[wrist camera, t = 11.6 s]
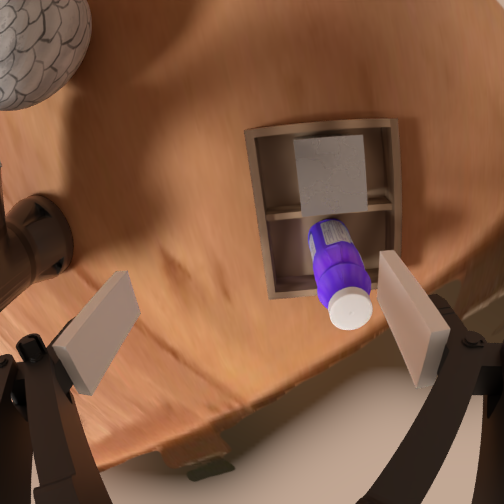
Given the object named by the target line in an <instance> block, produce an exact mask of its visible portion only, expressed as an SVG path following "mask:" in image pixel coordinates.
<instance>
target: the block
mask: <svg viewBox="0 0 504 504" xmlns="http://www.w3.org/2000/svg"><path fill="white" fill-rule="evenodd" d="M293 139H294V140H293V143H294V151H295V159H296V167H297V176H298V185H299V194H300V203H301V213H302V217H306V216H317V215H327V214H338V213H349V212H361V211H368V205H367V184H366V168H365V154H364V142H363V135H352V134H348V133H345V134H331V135H318V136H307V137H296V138H293Z"/></svg>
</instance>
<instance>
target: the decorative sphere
mask: <svg viewBox="0 0 504 504" xmlns="http://www.w3.org/2000/svg"><path fill="white" fill-rule="evenodd" d="M91 31H92V18H91V12H90V8H89V5H88V2H87V0H0V110H1V111H13V110H20V109H24V108H28V107H31V106H33V105H36V104H38V103H40V102H42V101H44V100H45V99H47V98H49V97H50V96H52V95H53V94H54V93H56V92H57V91H58V90H59V89H61V88H62V87H63V86H64V85H65V84H66V83H67V82H68V81H69V79H70V78H71V77H72V76H73V75H74V73H75V72H76V70H77V69H78V67H79V66H80V64H81V62H82V60H83V58H84V56H85V54H86V51H87V49H88V46H89V42H90V38H91Z"/></svg>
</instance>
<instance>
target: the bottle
mask: <svg viewBox="0 0 504 504" xmlns="http://www.w3.org/2000/svg"><path fill="white" fill-rule="evenodd" d="M308 244H309V248H310V252H311V256H312V261H313V271H314V277H315V281H316V284H317V294H318V298H319V300H320V302H321V303H322V304H323V305H324V306H325V307H326V308H327V309H328V311H329V315H330V319H331V321H332V323H333V324H334V325H335V326H336V327H338V328H340V329H343V330H354V329H357V328H360V327H361V326H363V325H364V324H365V323H367V321H368V320H369V319H370V317H371V315H372V311H373V307H372V303H371V301H370V297H369V295H370V291H371V279H370V277H369V275H368V273H367V272H366V271H365V267H364V264H363V261H362V258H361V256H360V254H359V252H358V250H357V249H356V247H355V245H354V243H353V241H352V239H351V237H350V234H349V231H348V229H347V227H346V226H345V224H344V223H343V222H341V221H340V220H338V219H334V218H330V219H326V220H323V221H320V222H317V223H315V224H314V225H313V226H312V227H311V228H310V230H309V233H308Z"/></svg>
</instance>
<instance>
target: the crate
mask: <svg viewBox="0 0 504 504" xmlns="http://www.w3.org/2000/svg"><path fill="white" fill-rule="evenodd" d="M345 133H348V134H352V135H363V142H364V154H365V168H366V184H367V205H368V211H361V212H349V213H338V214H327V215H317V216H306V217H302V213H301V203H300V194H299V185H298V176H297V167H296V159H295V151H294V143H293V140H294V139H293V138H296V137H307V136H318V135H331V134H345ZM244 134H245V141H246V147H247V154H248V161H249V167H250V174H251V181H252V187H253V194H254V201H255V208H256V214H257V221H258V228H259V235H260V242H261V249H262V256H263V263H264V270H265V277H266V284H267V291H268V298H269V300H271V299H283V298H295V297H306V296H317V295H318V294H317V284H316V281H315V277H314V271H313V261H312V256H311V252H310V248H309V244H308V233H309V230H310V228H311V227H312V226H313V225H314V224H315V223H317V222H320V221H323V220H326V219H330V218H334V219H338V220H340V221H341V222H343V223H344V224H345V226H346V227H347V229H348V231H349V234H350V237H351V239H352V241H353V243H354V245H355V247H356V249H357V250H358V252H359V254H360V256H361V258H362V261H363V264H364V267H365V271H366V272H367V273H368V275H369V277H370V279H371V290H373V289H378V274H379V256H380V251H387V250H394V251H395V252H396V253H397V255H398V256H399V257H400V259H401V243H402V178H401V155H400V140H399V127H398V118H366V119H345V120H330V121H317V122H305V123H295V124H285V125H276V126H268V127H260V128H253V129H247V130H244Z"/></svg>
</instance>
